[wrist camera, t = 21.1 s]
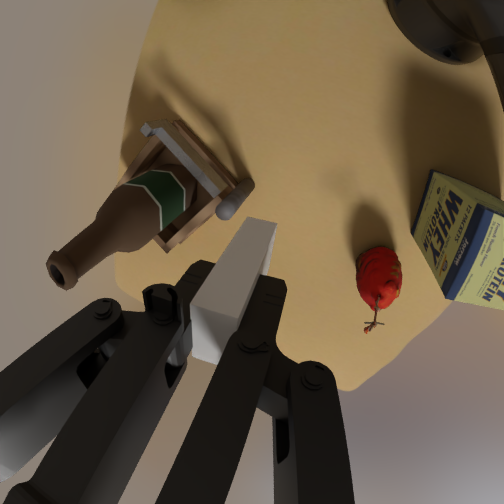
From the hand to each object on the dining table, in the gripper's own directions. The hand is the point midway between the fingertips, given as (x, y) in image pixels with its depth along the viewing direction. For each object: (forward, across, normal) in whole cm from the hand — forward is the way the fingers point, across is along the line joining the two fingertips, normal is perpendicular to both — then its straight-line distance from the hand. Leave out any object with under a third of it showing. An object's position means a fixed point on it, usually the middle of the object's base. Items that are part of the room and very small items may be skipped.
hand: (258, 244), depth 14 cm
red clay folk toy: (+25, +15, -13) cm, 32 cm away
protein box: (+25, +26, -1) cm, 36 cm away
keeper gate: (+18, -12, 0) cm, 22 cm away
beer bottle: (+23, -17, -7) cm, 29 cm away
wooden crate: (+24, -16, -7) cm, 30 cm away
